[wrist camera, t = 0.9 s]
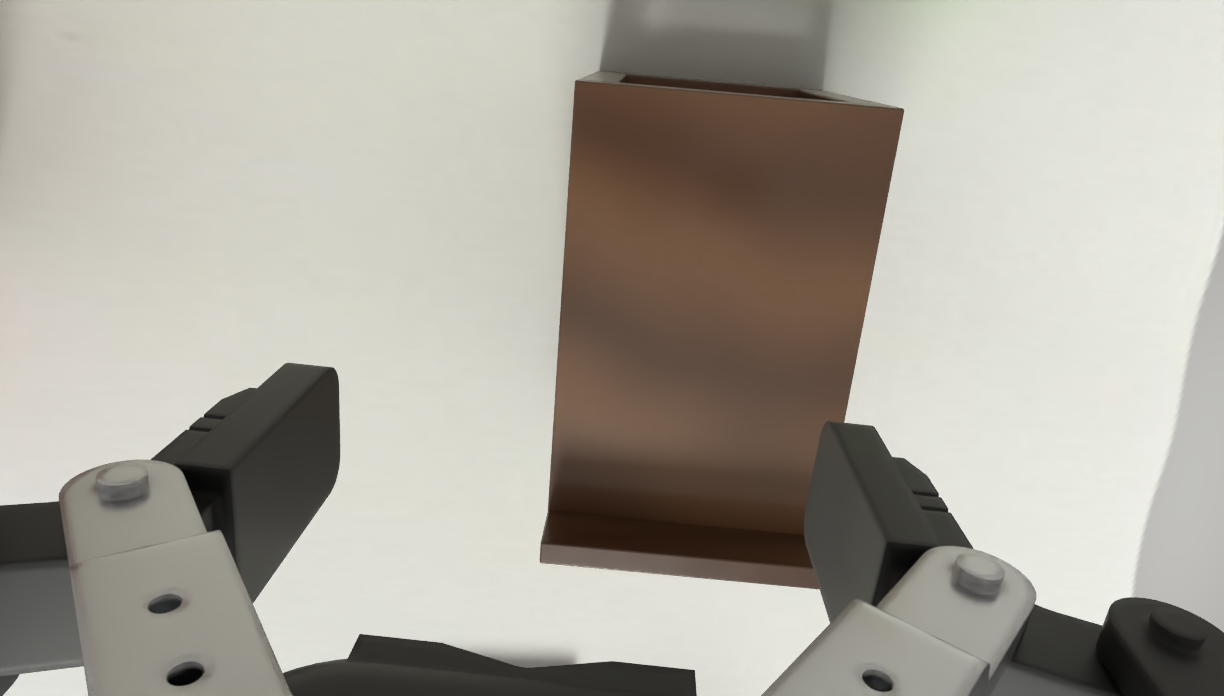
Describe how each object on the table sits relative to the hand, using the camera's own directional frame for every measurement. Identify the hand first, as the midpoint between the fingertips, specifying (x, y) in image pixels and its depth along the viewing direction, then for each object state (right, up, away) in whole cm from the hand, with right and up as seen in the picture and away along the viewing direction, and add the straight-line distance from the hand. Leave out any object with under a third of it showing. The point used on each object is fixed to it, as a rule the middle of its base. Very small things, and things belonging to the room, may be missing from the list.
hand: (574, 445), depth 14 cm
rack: (+4, +6, +24) cm, 25 cm away
